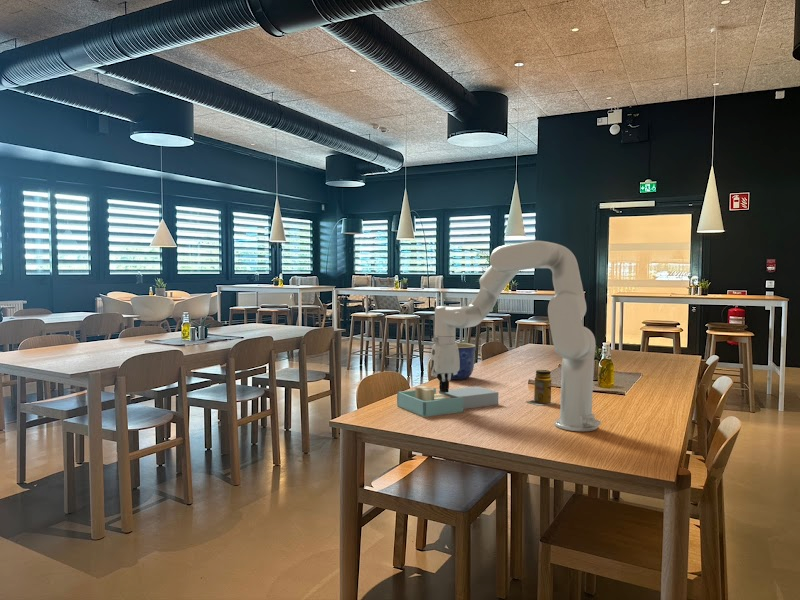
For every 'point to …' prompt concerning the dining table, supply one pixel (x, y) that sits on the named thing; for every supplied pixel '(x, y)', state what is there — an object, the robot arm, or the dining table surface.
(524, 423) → the dining table surface
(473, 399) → the grey rectangular block
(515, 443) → the dining table surface
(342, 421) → the dining table surface
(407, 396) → the tray
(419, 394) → the tile
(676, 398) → the dining table surface
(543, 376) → the condiment
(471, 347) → the planter
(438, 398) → the tile
